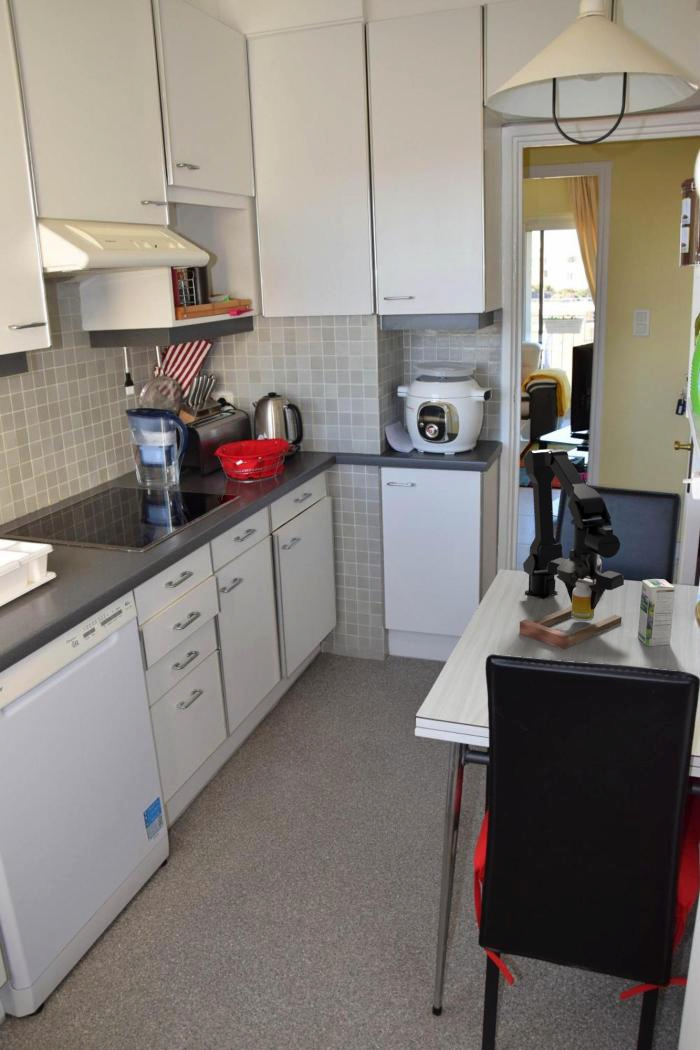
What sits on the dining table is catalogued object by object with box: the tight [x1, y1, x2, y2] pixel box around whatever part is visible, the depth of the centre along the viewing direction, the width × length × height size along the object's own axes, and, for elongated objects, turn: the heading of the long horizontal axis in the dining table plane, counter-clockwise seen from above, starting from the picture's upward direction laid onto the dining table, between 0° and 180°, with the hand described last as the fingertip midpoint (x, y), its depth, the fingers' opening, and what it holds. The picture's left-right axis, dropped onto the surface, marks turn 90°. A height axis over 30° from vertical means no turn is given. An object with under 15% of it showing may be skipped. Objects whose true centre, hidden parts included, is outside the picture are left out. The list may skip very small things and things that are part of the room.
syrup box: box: [637, 578, 676, 647], centre depth 196 cm, size 6×6×14 cm
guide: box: [519, 605, 623, 650], centre depth 207 cm, size 13×23×3 cm, turn 129°
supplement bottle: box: [571, 578, 595, 622], centre depth 208 cm, size 5×5×10 cm
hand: (583, 606), depth 209 cm, fingers closed on supplement bottle, 5 cm apart
